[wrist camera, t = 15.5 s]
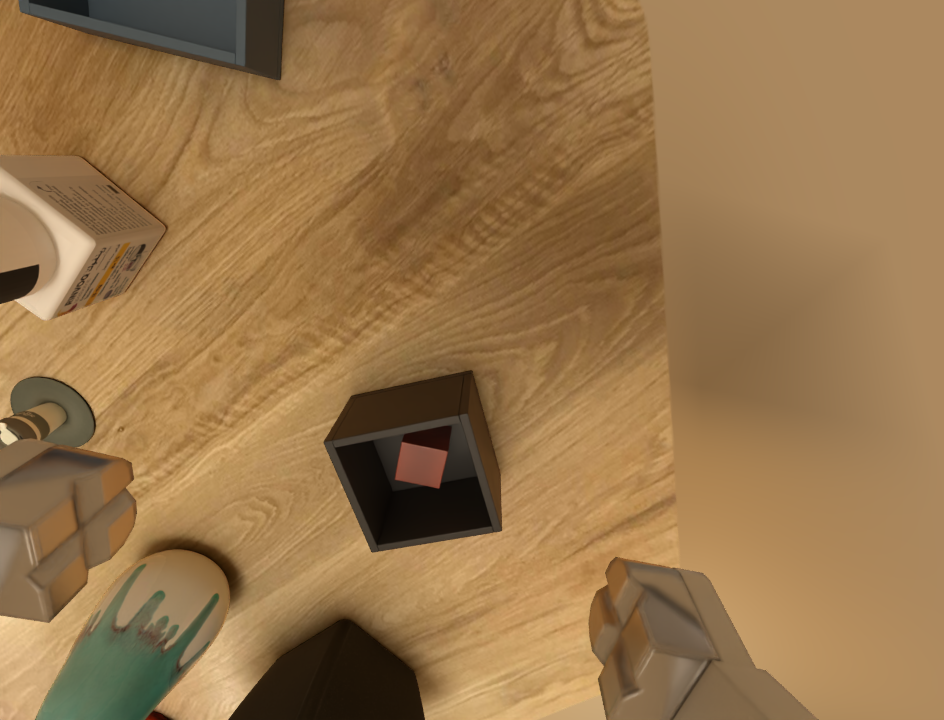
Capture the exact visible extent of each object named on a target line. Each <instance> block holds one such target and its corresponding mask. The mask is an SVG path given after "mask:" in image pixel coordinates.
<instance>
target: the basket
mask: <svg viewBox="0 0 944 720" xmlns="http://www.w3.org/2000/svg"><path fill="white" fill-rule="evenodd" d="M442 426H450V427H452V431H451V437H450V444H449V451H448V455H447V459H446V464H445V468H444V472H443V476H442V480H441V484H440V488H439V489H438V488H433V487H428V486H424V485H419V484H414V483H409V482H404V481H399V480H395V473H396V468H397V463H398V457H399V452H400V447H401V442H402V439H403V436H404V434H407V433H412V432H417V431H422V430H427V429H432V428H437V427H442ZM324 445H325V447H326V449H327V452H328V454H329V456H330V459H331V461H332V463H333V465H334V468H335V470H336V472H337V474H338V477H339V479H340V481H341V484H342V486H343V488H344V490H345V493H346V495H347V497H348V499H349V502H350V504H351V506H352V509H353V511H354V513H355V515H356V518H357V520H358V522H359V524H360V527H361V529H362V531H363V534H364V536H365V538H366V540H367V543H368V545H369V547H370V549H371V552H378V551H385V550H391V549H397V548H403V547H409V546H415V545H421V544H427V543H433V542H439V541H445V540H451V539H458V538H464V537H470V536H476V535H482V534H488V533H493V532H500V531H502V511H501V478H500V477H501V474H500V470H499V467H498V463H497V459H496V456H495V452H494V449H493V445H492V441H491V438H490V434H489V430H488V427H487V423H486V420H485V416H484V412H483V409H482V405H481V401H480V398H479V394H478V390H477V387H476V383H475V380H474V376H473V372H472V371H467V372H462V373H458V374H453V375H448V376H443V377H439V378H434V379H429V380H425V381H420V382H415V383H411V384H406V385H401V386H397V387H392V388H387V389H382V390H378V391H373V392H368V393H364V394H359V395H354V396H351V397H350V399H349V401H348V402H347V404H346V406H345V407H344V409H343V411H342V412H341V414H340V416H339V417H338V419H337V421H336V422H335V424H334V426H333V427H332V429H331V431H330V432H329V434H328V436H327V437H326V439H325V441H324Z"/></svg>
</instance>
